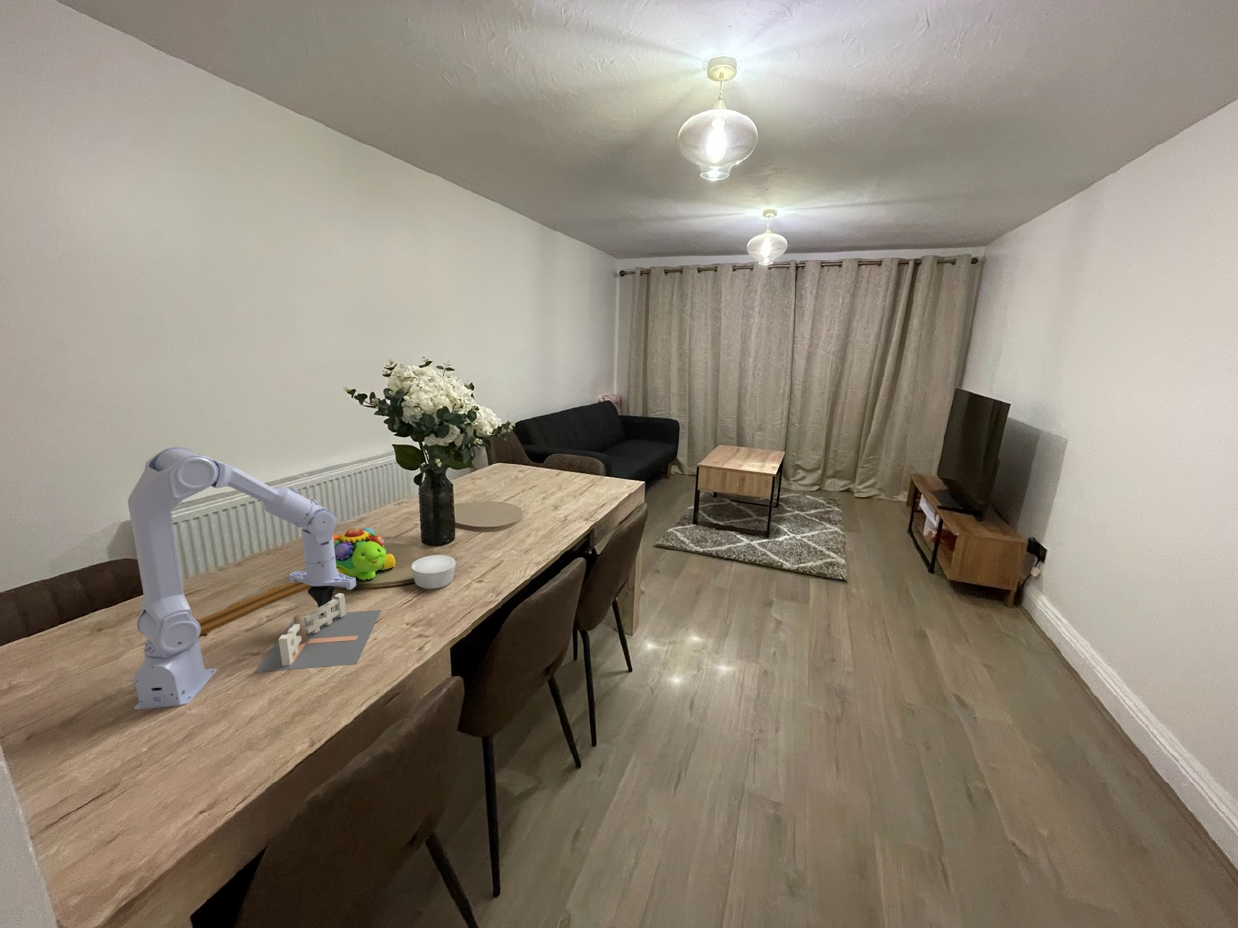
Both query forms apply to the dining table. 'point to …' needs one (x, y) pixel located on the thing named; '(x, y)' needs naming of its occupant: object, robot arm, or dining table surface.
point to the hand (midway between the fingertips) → (326, 613)
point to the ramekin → (433, 571)
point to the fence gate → (326, 613)
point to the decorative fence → (249, 606)
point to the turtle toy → (361, 553)
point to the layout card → (327, 643)
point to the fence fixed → (292, 640)
